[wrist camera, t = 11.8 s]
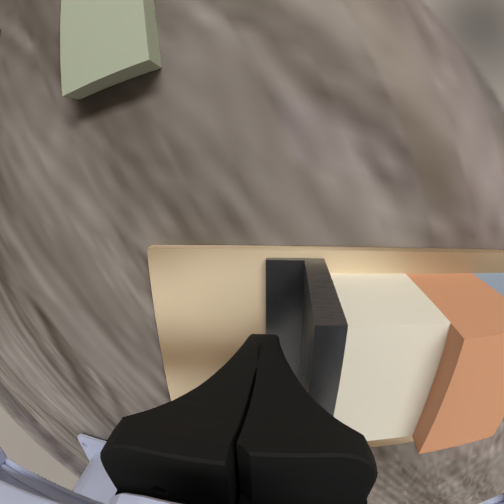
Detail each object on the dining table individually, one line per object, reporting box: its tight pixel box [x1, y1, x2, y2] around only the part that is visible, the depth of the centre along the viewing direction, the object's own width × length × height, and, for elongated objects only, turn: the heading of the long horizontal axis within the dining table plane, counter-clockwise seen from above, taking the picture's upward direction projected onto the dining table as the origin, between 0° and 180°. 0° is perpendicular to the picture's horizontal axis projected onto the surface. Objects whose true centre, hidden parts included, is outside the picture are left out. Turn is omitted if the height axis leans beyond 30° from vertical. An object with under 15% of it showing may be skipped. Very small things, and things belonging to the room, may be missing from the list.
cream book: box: [330, 273, 451, 441], centre depth 11 cm, size 5×4×4 cm
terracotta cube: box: [406, 273, 504, 454], centre depth 10 cm, size 5×4×6 cm
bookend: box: [266, 258, 348, 416], centre depth 11 cm, size 6×2×6 cm, turn 1°
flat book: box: [60, 0, 162, 100], centre depth 11 cm, size 6×4×2 cm
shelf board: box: [147, 245, 504, 447], centre depth 14 cm, size 12×18×1 cm
